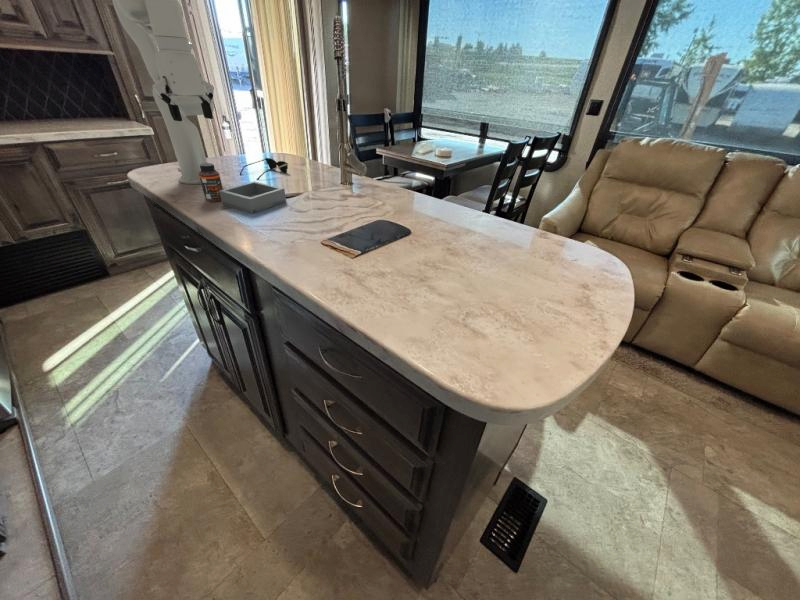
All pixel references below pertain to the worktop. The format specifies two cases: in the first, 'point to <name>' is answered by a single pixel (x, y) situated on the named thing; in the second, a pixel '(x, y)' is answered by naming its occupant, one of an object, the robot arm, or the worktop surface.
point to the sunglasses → (272, 165)
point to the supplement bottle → (210, 182)
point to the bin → (253, 196)
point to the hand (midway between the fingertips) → (194, 119)
